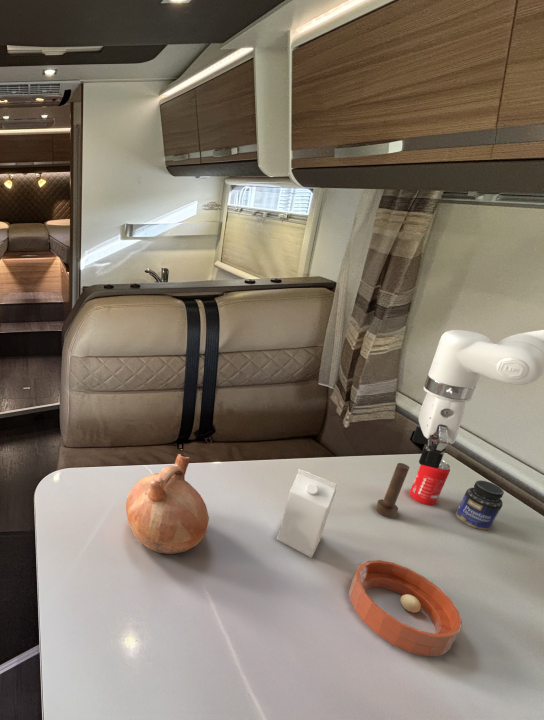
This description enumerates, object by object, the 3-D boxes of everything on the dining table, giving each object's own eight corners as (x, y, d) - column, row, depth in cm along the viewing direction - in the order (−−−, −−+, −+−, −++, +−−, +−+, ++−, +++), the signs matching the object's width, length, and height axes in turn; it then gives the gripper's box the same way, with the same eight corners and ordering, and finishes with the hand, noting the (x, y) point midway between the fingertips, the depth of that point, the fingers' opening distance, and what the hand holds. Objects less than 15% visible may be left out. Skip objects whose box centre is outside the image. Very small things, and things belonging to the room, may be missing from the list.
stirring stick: (395, 513, 106) (414, 465, 100) (393, 523, 103) (414, 473, 98) (375, 506, 108) (393, 458, 103) (373, 515, 106) (391, 466, 100)
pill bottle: (454, 523, 103) (471, 487, 99) (454, 509, 107) (470, 474, 103) (490, 537, 99) (509, 500, 95) (488, 522, 103) (507, 486, 99)
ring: (440, 605, 84) (451, 584, 82) (457, 677, 72) (471, 655, 70) (347, 568, 92) (354, 548, 90) (349, 628, 80) (358, 607, 78)
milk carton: (285, 524, 103) (303, 461, 96) (319, 541, 98) (340, 476, 91) (275, 541, 99) (293, 476, 91) (310, 560, 94) (332, 493, 87)
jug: (175, 585, 89) (187, 511, 81) (107, 533, 101) (112, 465, 94) (217, 537, 100) (232, 468, 92) (152, 495, 113) (160, 432, 105)
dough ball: (403, 588, 84) (397, 597, 85) (404, 600, 81) (398, 609, 83) (422, 596, 82) (416, 605, 83) (424, 609, 80) (417, 619, 81)
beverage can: (416, 506, 108) (432, 468, 104) (403, 492, 113) (418, 455, 108) (439, 509, 107) (457, 470, 103) (425, 494, 112) (441, 457, 107)
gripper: (484, 410, 82) (455, 481, 88) (462, 375, 96) (438, 439, 102) (433, 400, 86) (408, 469, 92) (419, 368, 100) (398, 430, 106)
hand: (424, 453), depth 97 cm, fingers open, 9 cm apart
